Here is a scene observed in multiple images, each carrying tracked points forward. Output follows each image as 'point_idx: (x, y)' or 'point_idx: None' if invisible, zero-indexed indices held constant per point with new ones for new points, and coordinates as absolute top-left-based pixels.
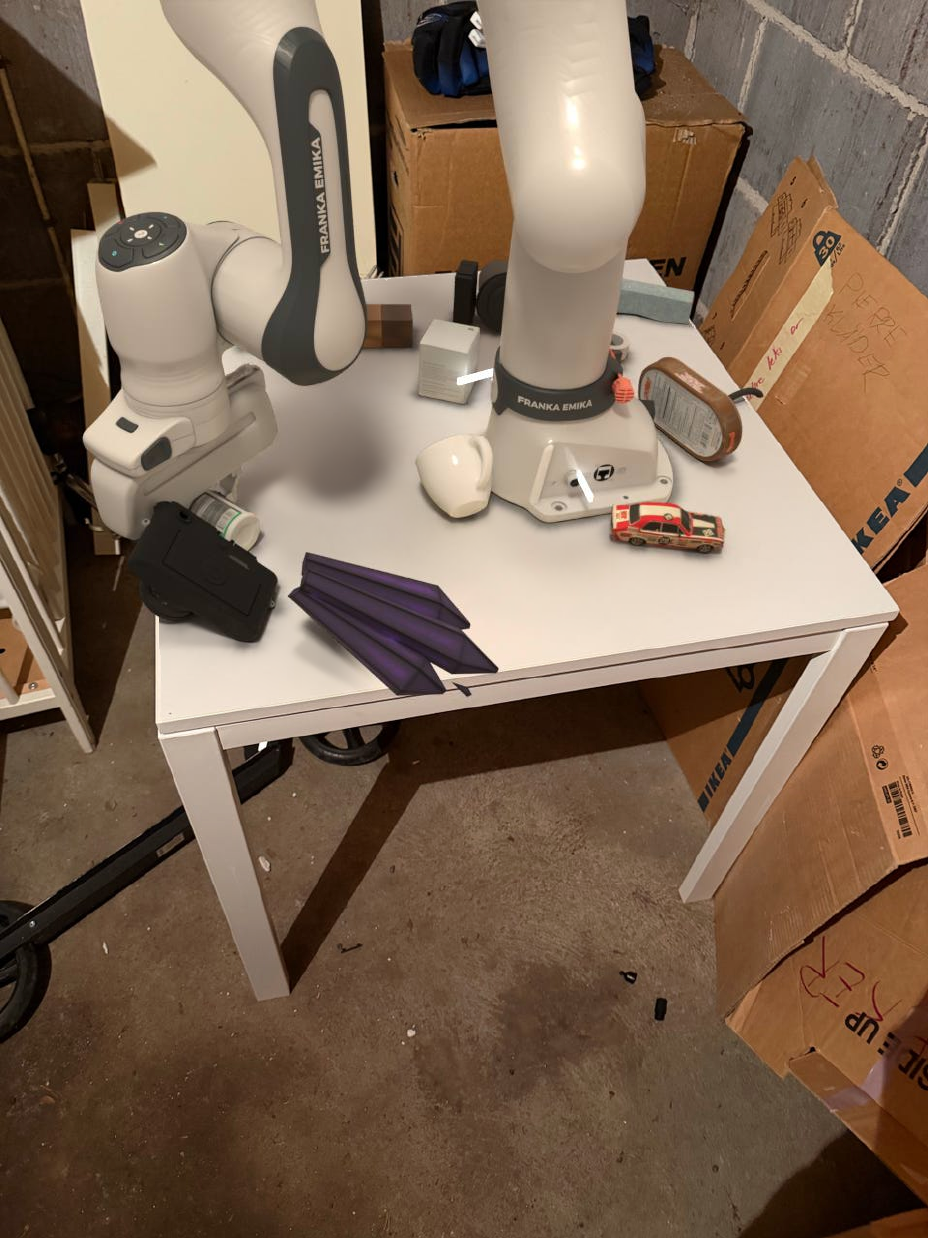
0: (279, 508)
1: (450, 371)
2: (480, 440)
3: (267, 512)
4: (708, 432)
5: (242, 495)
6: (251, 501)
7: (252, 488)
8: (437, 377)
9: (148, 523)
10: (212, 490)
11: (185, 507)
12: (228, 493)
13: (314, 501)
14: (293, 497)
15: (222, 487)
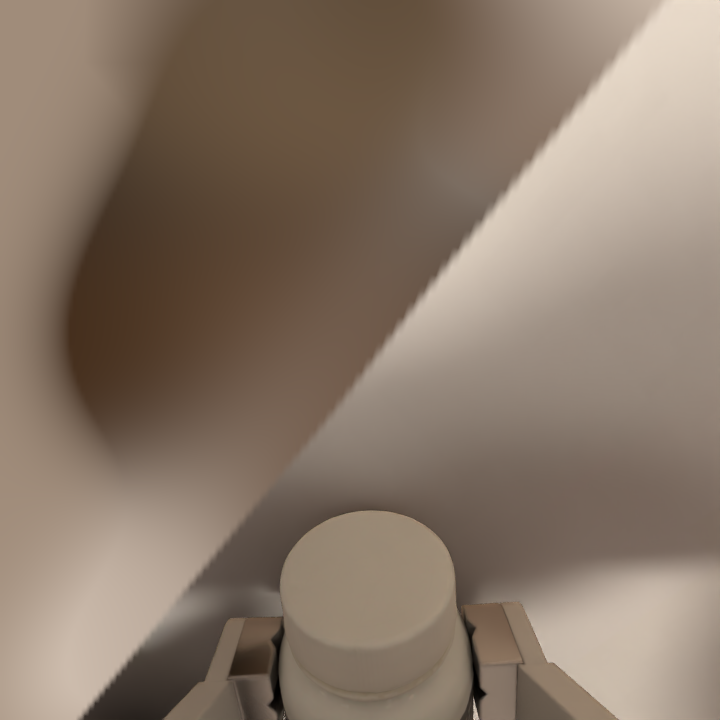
0: (593, 650)
1: None
2: None
3: (555, 639)
4: None
5: (574, 536)
6: (567, 575)
7: (626, 534)
8: None
9: None
10: (458, 717)
11: (292, 714)
12: (501, 717)
13: (682, 693)
14: (663, 646)
15: (515, 683)
